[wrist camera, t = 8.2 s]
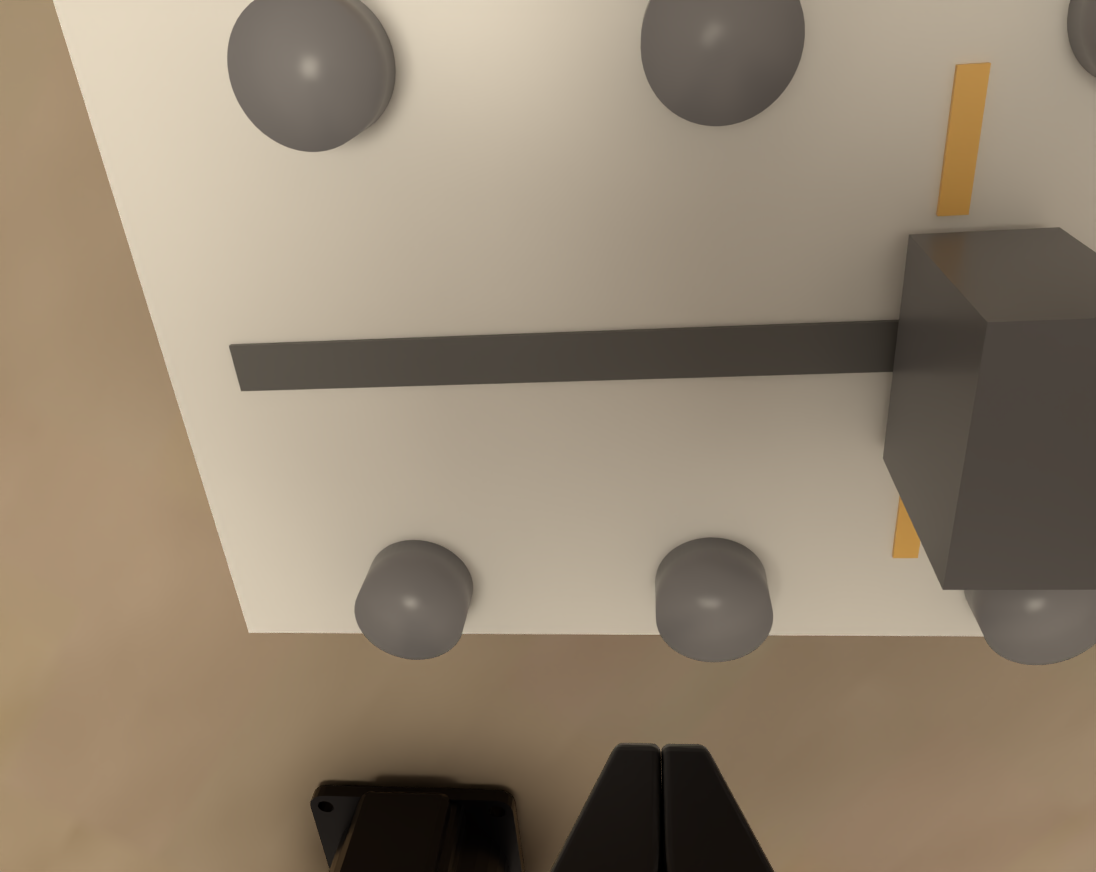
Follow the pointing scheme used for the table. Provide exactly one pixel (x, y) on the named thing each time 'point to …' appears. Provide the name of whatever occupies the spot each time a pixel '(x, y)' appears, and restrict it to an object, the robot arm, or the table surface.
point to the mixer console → (575, 297)
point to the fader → (998, 408)
